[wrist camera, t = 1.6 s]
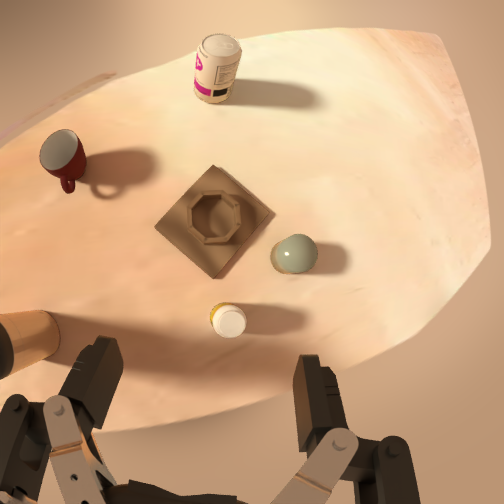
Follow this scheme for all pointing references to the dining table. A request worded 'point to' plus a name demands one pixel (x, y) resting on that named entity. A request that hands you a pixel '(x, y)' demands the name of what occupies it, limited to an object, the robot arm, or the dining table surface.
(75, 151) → the mug
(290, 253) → the sage green domed cylinder
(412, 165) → the dining table surface
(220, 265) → the caddy
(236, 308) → the supplement bottle
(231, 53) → the supplement can
